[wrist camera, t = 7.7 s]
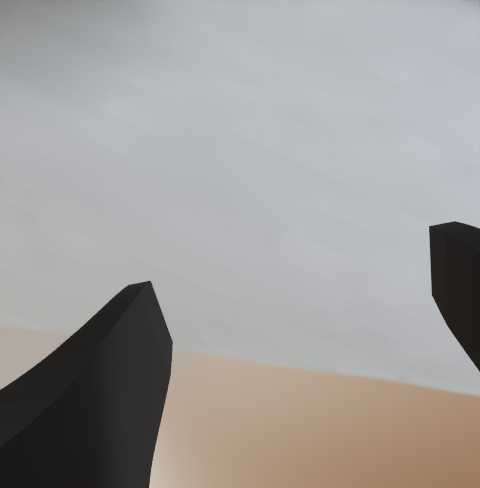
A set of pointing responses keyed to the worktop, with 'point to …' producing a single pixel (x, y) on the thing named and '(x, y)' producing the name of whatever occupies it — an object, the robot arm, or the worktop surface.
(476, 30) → the worktop surface
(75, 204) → the worktop surface
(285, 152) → the worktop surface
